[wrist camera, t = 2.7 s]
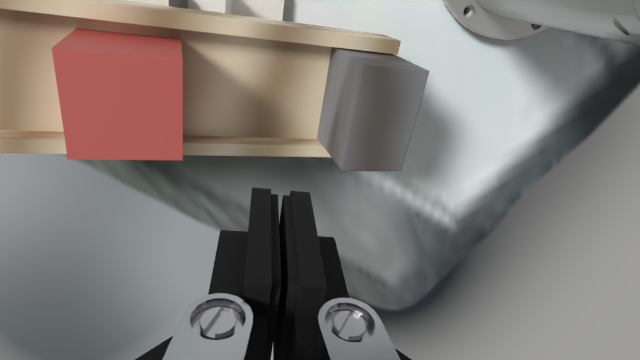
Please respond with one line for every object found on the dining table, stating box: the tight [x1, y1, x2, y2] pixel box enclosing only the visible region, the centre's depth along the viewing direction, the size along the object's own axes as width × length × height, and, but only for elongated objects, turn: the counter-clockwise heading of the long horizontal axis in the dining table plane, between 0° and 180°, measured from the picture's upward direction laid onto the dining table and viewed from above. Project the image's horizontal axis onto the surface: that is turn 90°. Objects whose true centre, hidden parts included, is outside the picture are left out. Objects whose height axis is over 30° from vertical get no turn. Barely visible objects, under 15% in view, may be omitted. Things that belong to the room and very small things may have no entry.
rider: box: [52, 28, 183, 160], centre depth 20 cm, size 5×5×5 cm
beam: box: [0, 0, 429, 171], centre depth 22 cm, size 26×9×7 cm, turn 81°
